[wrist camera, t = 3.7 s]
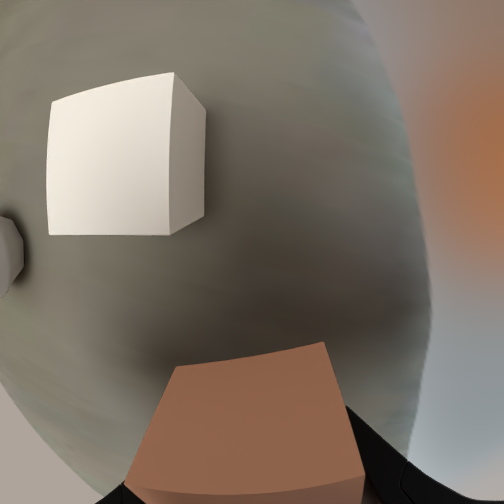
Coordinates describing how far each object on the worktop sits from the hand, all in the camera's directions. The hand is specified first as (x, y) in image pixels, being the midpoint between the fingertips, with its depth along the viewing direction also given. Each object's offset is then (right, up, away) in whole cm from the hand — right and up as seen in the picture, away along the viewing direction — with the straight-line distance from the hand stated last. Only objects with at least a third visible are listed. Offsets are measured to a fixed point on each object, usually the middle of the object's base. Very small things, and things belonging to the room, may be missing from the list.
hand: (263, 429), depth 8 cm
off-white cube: (-5, +10, +4) cm, 12 cm away
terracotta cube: (0, 0, +1) cm, 1 cm away
